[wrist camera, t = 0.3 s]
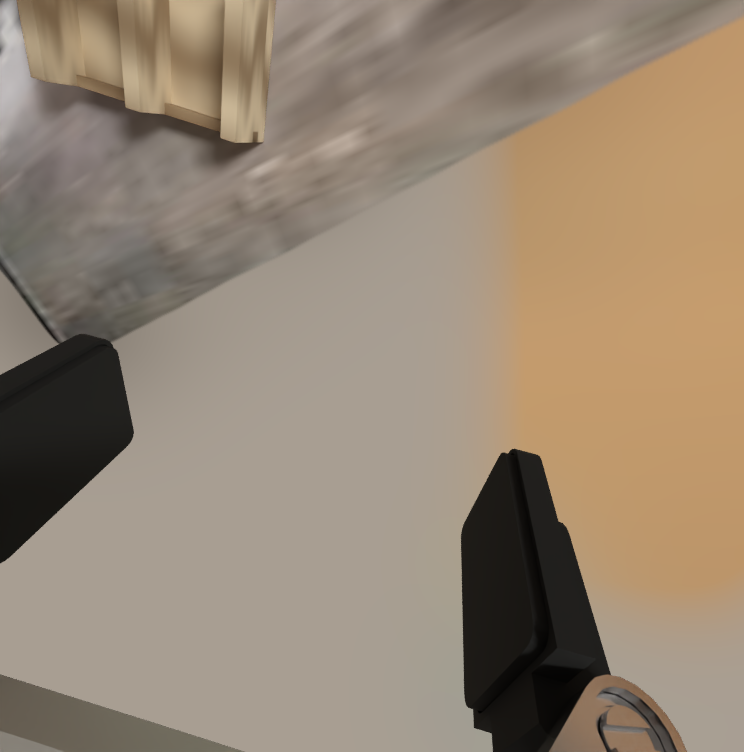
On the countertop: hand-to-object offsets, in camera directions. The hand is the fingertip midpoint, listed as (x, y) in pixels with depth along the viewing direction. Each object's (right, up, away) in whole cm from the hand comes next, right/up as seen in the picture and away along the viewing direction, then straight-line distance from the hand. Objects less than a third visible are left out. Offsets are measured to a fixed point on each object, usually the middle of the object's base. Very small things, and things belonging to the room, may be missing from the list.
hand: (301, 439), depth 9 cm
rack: (-14, +29, +22) cm, 39 cm away
